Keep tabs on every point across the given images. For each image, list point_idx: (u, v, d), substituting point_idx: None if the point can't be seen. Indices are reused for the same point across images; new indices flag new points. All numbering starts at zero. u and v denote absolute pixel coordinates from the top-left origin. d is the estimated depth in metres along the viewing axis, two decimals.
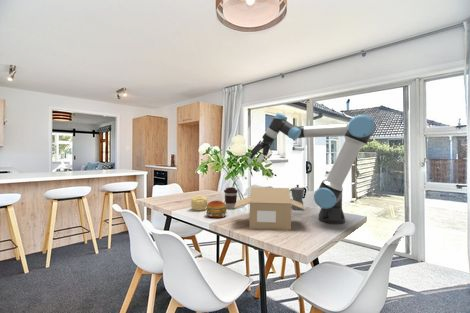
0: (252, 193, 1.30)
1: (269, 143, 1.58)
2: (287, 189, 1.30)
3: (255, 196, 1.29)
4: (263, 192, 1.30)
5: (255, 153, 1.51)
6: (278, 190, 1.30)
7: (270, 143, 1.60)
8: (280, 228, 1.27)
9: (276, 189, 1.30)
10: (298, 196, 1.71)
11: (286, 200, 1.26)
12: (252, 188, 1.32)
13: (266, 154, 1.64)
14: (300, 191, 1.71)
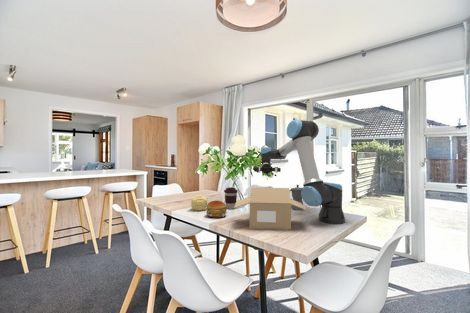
0: (252, 193, 1.30)
1: (271, 167, 1.67)
2: (287, 189, 1.30)
3: (255, 196, 1.29)
4: (263, 192, 1.30)
5: (257, 167, 1.59)
6: (278, 190, 1.30)
7: (274, 167, 1.66)
8: (280, 228, 1.27)
9: (276, 189, 1.30)
10: (298, 196, 1.71)
11: (286, 200, 1.26)
12: (252, 188, 1.32)
13: (277, 167, 1.57)
14: (300, 191, 1.71)
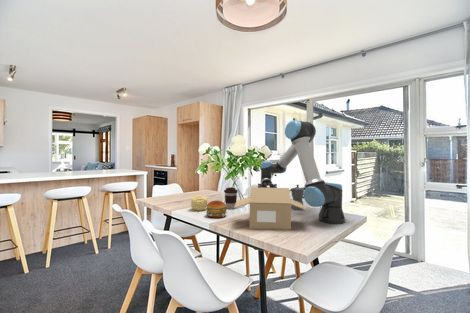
0: (252, 193, 1.30)
1: None
2: (287, 189, 1.30)
3: (255, 196, 1.29)
4: (263, 192, 1.30)
5: (265, 185, 1.49)
6: (278, 190, 1.30)
7: (275, 184, 1.57)
8: (280, 228, 1.27)
9: (276, 189, 1.30)
10: (298, 196, 1.71)
11: (286, 200, 1.26)
12: (252, 188, 1.32)
13: (271, 185, 1.48)
14: (300, 191, 1.71)
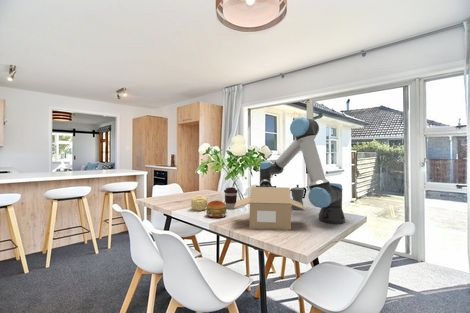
0: (252, 193, 1.29)
1: None
2: (287, 189, 1.29)
3: (255, 196, 1.28)
4: (263, 192, 1.29)
5: None
6: (278, 190, 1.29)
7: (274, 186, 1.47)
8: (280, 228, 1.27)
9: (276, 189, 1.30)
10: (298, 196, 1.71)
11: (286, 200, 1.26)
12: (252, 188, 1.31)
13: None
14: (300, 191, 1.71)
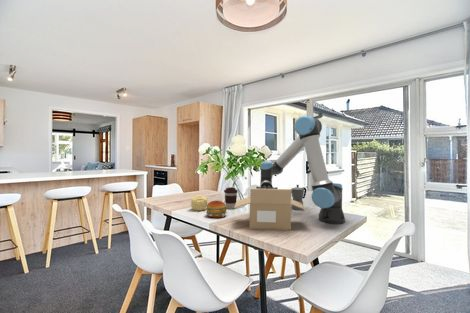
0: (252, 195, 1.25)
1: (273, 187, 1.43)
2: (289, 191, 1.22)
3: (255, 198, 1.25)
4: (263, 194, 1.24)
5: None
6: (279, 192, 1.23)
7: (275, 188, 1.41)
8: (280, 228, 1.27)
9: (277, 191, 1.23)
10: (298, 196, 1.71)
11: (287, 201, 1.25)
12: (252, 190, 1.24)
13: None
14: (300, 191, 1.71)
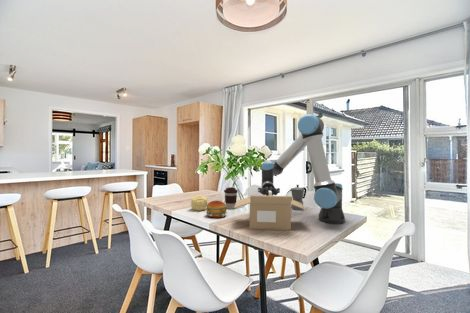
0: (252, 199, 1.23)
1: (275, 188, 1.39)
2: (290, 197, 1.19)
3: (255, 201, 1.24)
4: (264, 199, 1.22)
5: (266, 190, 1.29)
6: (280, 198, 1.20)
7: (278, 189, 1.37)
8: (280, 228, 1.27)
9: (278, 197, 1.19)
10: (298, 196, 1.71)
11: (287, 203, 1.24)
12: (252, 196, 1.20)
13: (273, 190, 1.28)
14: (300, 191, 1.71)
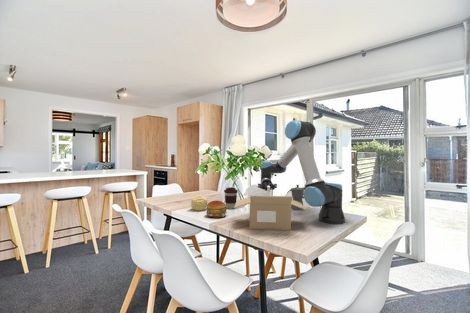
0: (252, 199, 1.23)
1: None
2: (290, 197, 1.19)
3: (255, 201, 1.24)
4: (264, 199, 1.22)
5: (265, 185, 1.49)
6: (280, 198, 1.20)
7: (275, 184, 1.57)
8: (280, 228, 1.27)
9: (278, 197, 1.19)
10: (298, 196, 1.71)
11: (287, 203, 1.24)
12: (252, 196, 1.20)
13: (271, 185, 1.48)
14: (300, 191, 1.71)
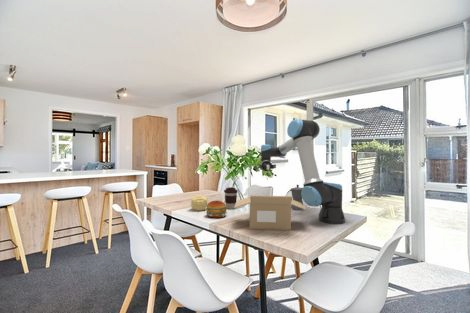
0: (252, 199, 1.23)
1: None
2: (290, 197, 1.19)
3: (255, 201, 1.24)
4: (264, 199, 1.22)
5: (264, 165, 1.57)
6: (280, 198, 1.20)
7: (274, 165, 1.65)
8: (280, 228, 1.27)
9: (278, 197, 1.19)
10: (298, 196, 1.71)
11: (287, 203, 1.24)
12: (252, 196, 1.20)
13: (270, 164, 1.56)
14: (300, 191, 1.71)
